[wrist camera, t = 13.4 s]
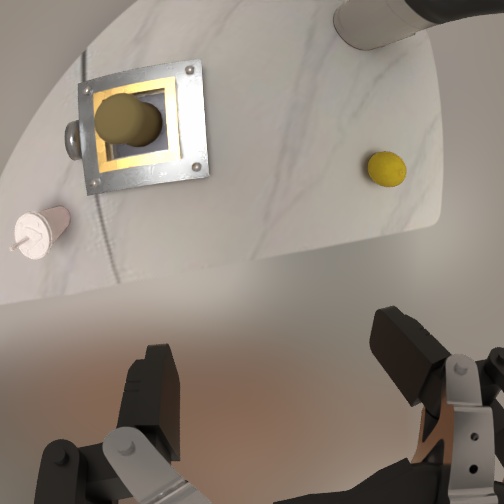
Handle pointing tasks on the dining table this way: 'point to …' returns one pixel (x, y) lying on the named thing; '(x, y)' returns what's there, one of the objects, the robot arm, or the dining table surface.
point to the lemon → (387, 169)
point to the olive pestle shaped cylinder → (127, 121)
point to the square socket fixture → (159, 151)
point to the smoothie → (40, 231)
